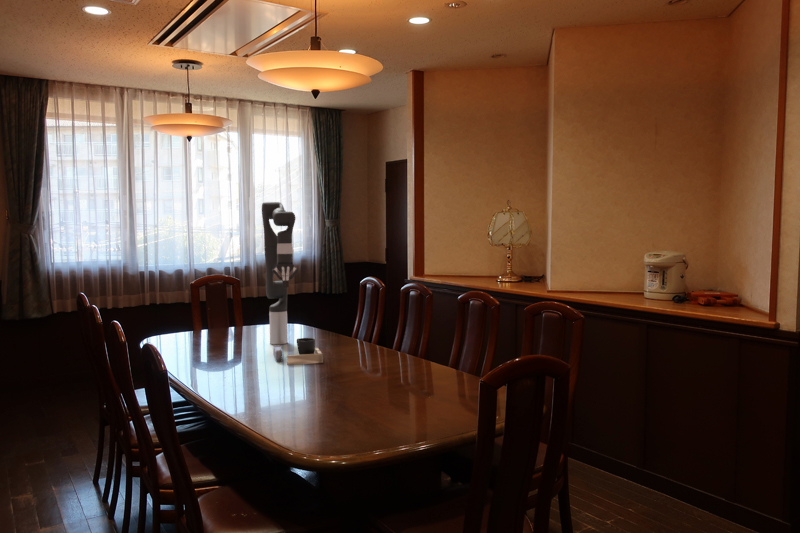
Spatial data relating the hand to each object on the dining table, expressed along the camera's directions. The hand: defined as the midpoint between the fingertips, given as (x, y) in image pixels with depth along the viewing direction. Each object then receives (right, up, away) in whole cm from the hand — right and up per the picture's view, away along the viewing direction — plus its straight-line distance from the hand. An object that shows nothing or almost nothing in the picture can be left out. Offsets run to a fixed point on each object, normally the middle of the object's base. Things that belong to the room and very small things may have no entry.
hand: (285, 288), depth 291 cm
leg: (-2, -32, -8) cm, 33 cm away
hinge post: (0, -33, -16) cm, 37 cm away
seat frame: (+11, -33, -14) cm, 37 cm away
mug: (+11, -33, -11) cm, 36 cm away
